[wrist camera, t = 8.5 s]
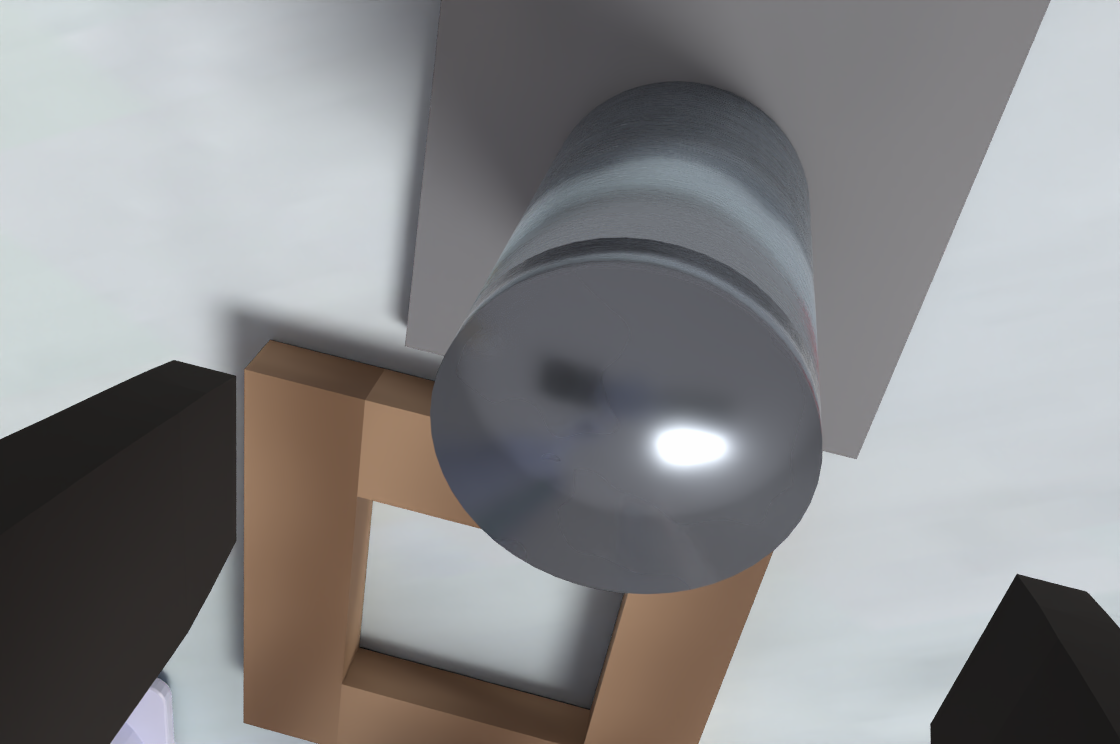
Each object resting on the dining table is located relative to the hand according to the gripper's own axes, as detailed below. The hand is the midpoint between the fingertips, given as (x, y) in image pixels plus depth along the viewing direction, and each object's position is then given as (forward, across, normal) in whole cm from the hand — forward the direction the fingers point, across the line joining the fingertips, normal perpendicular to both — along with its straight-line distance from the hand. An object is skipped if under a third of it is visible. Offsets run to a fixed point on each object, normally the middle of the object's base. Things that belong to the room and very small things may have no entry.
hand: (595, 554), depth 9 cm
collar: (+10, +2, +11) cm, 15 cm away
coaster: (+10, 0, 0) cm, 10 cm away
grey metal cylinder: (+9, 0, 0) cm, 9 cm away
